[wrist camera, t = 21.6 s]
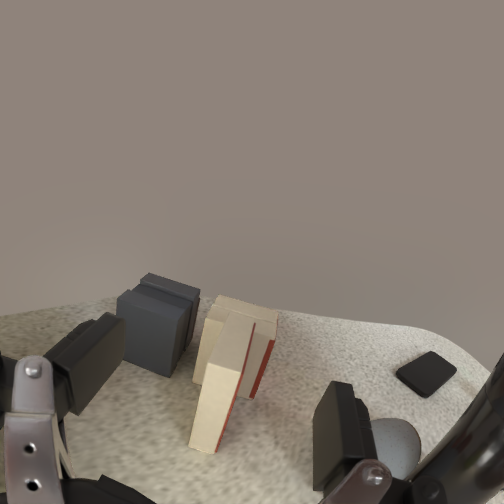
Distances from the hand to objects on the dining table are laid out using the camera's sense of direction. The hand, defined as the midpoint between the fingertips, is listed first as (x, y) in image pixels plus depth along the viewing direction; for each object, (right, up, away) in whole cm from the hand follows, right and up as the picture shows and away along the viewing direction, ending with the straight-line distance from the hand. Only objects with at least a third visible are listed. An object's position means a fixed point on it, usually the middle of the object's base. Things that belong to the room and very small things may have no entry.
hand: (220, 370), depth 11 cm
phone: (+31, -17, +32) cm, 48 cm away
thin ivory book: (-3, -13, +16) cm, 21 cm away
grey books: (-11, -8, +25) cm, 28 cm away
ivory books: (-2, -10, +25) cm, 27 cm away
